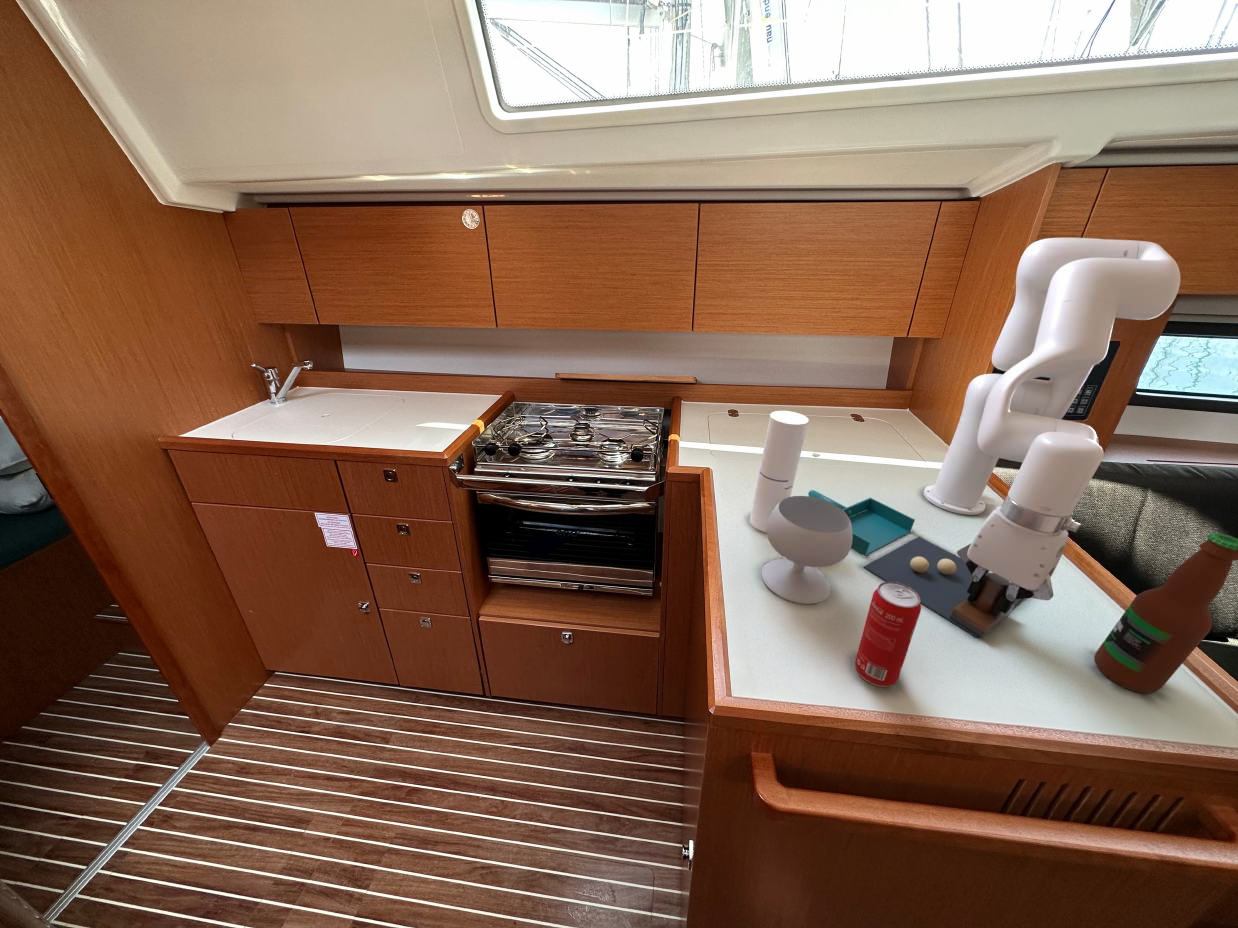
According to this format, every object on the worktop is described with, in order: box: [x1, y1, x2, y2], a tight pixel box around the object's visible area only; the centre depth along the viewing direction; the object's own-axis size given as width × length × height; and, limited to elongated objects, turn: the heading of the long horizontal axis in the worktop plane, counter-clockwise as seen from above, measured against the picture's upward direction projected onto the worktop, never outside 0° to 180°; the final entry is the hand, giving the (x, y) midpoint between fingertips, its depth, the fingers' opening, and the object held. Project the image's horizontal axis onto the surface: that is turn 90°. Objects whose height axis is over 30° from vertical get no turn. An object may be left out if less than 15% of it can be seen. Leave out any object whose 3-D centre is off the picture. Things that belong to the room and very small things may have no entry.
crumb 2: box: [937, 559, 956, 575], centre depth 89 cm, size 3×3×3 cm
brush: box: [949, 572, 1015, 638], centre depth 78 cm, size 10×5×8 cm, turn 122°
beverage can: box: [854, 581, 922, 688], centre depth 66 cm, size 6×6×15 cm
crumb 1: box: [910, 557, 929, 573], centre depth 89 cm, size 3×3×3 cm
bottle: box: [1093, 532, 1238, 694], centre depth 65 cm, size 7×7×25 cm
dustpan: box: [807, 489, 916, 557], centre depth 105 cm, size 20×17×3 cm
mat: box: [862, 536, 1024, 639], centre depth 88 cm, size 20×20×1 cm
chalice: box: [761, 495, 853, 604], centre depth 83 cm, size 14×14×15 cm
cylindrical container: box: [749, 410, 809, 533], centre depth 98 cm, size 7×7×25 cm
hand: (985, 604), depth 79 cm, fingers closed on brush, 3 cm apart
